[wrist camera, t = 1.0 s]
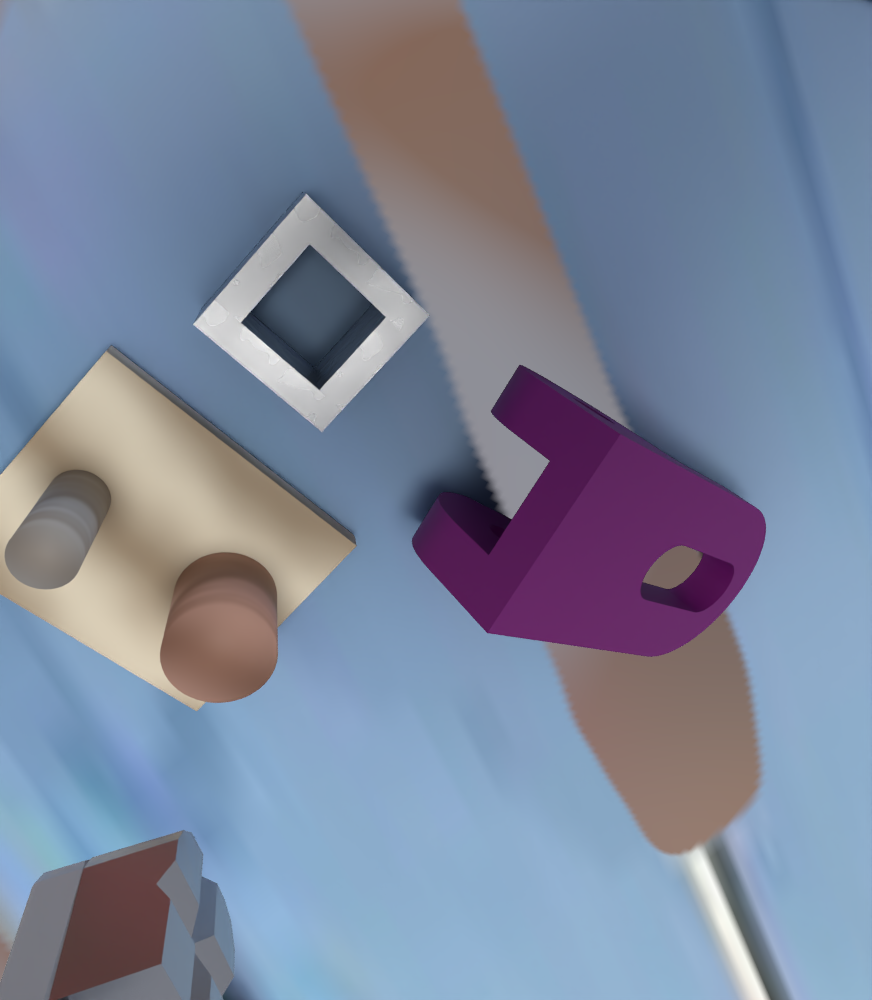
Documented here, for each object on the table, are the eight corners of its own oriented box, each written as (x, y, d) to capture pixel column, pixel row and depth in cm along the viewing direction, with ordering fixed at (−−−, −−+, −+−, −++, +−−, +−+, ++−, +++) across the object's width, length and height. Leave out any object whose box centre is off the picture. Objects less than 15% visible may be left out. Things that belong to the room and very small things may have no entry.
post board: (111, 345, 33) (72, 386, 27) (354, 535, 39) (371, 608, 32) (-57, 542, 35) (-132, 626, 28) (198, 696, 41) (184, 796, 34)
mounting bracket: (672, 450, 47) (489, 344, 35) (789, 526, 42) (621, 432, 29) (586, 575, 50) (382, 519, 37) (685, 663, 44) (486, 632, 31)
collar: (302, 191, 32) (306, 193, 29) (413, 300, 35) (429, 315, 31) (201, 308, 33) (193, 324, 30) (317, 406, 36) (321, 432, 32)
